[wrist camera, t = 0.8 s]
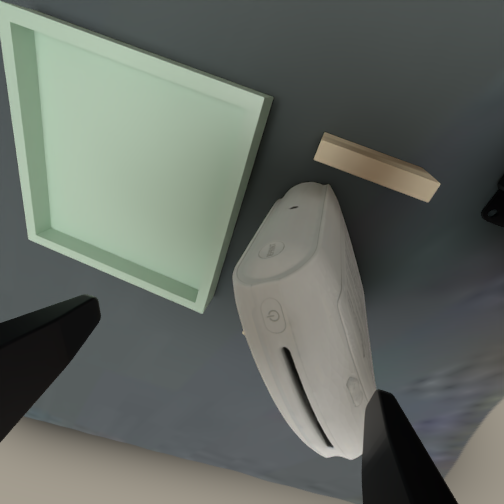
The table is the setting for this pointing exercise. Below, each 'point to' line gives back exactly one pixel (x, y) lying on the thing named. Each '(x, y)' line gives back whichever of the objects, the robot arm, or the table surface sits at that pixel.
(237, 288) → the photo printer
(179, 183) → the tray
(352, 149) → the holder
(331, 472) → the table surface
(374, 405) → the robot arm
